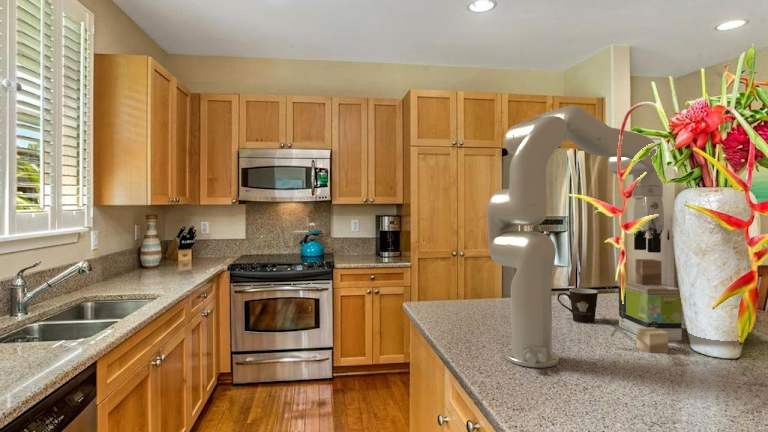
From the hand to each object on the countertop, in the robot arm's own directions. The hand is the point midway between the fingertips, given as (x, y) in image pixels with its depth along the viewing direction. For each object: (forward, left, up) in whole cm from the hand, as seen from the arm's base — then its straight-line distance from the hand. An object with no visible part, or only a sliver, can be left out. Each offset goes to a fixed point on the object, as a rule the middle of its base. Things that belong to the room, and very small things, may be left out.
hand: (646, 251), depth 123 cm
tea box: (0, 0, -25) cm, 25 cm away
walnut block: (0, 0, -10) cm, 10 cm away
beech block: (-15, +4, -25) cm, 29 cm away
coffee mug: (+13, +15, -25) cm, 32 cm away
